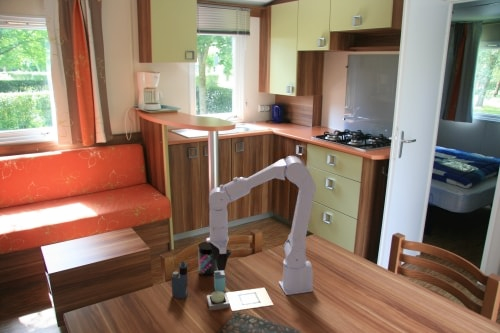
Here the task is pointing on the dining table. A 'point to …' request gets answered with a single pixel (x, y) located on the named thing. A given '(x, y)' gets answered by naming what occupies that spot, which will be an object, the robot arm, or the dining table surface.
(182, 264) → the vaping device
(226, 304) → the button housing
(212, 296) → the button
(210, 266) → the supplement container
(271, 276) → the dining table surface
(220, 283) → the teal block
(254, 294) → the paper
